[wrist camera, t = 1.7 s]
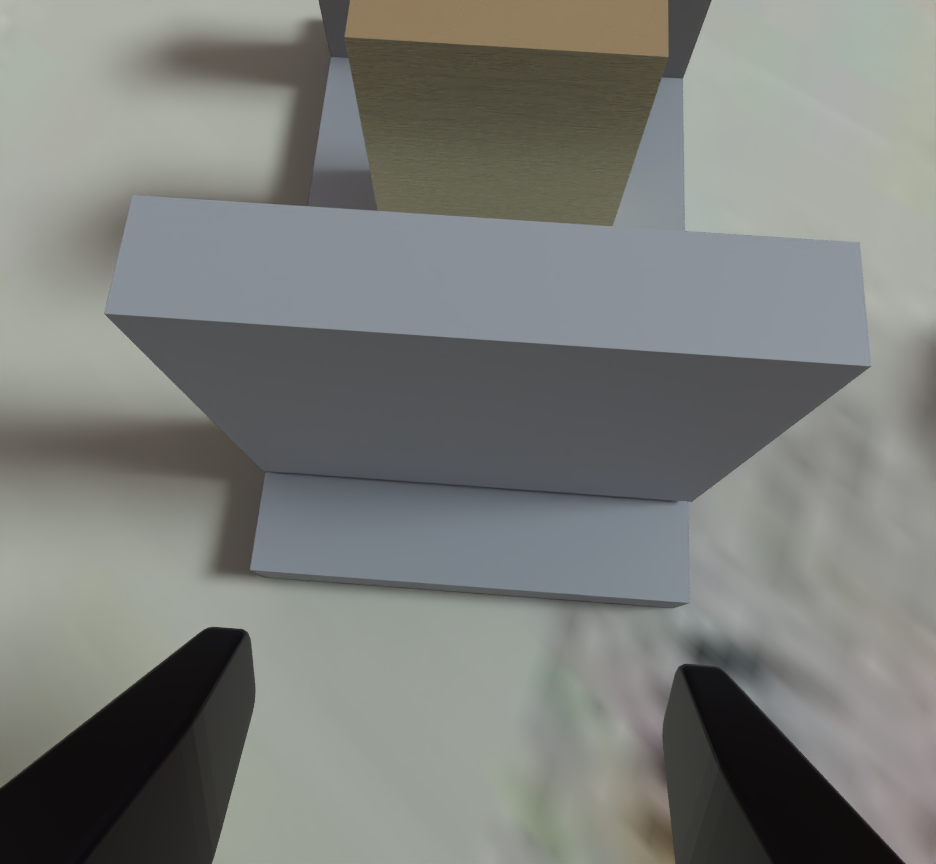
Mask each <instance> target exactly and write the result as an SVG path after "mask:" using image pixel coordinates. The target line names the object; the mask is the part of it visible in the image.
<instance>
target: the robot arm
mask: <svg viewBox="0 0 936 864" xmlns="http://www.w3.org/2000/svg"><path fill="white" fill-rule="evenodd" d="M254 703H255V678H254V668H253V658H252V648H251V640H250V637H249V634H248V633H247V632H246V631H245V630H243V629H235V628H222V627H209V628H207V629H204V630H203V631H201V632H200V633H199V634H197V635H196V636H195V637H193V638H192V639H191V640H190V641H188V642H187V643H186V644H185V645H183V646H182V647H181V648H179V649H178V650H177V651H176V652H174V653H173V654H172V655H170V656H169V657H168V658H167V659H165V660H164V661H163V662H161V663H160V664H159V665H158V666H156V667H155V668H154V669H152V670H151V671H150V672H149V673H147V674H146V675H145V676H143V677H142V678H141V679H140V680H138V681H137V682H136V683H135V684H133V685H132V686H131V687H129V688H128V689H127V690H126V691H124V692H123V693H122V694H120V695H119V696H118V697H117V698H115V699H114V700H113V701H111V702H110V703H109V704H108V705H106V706H105V707H104V708H102V709H101V710H100V711H99V712H97V713H96V714H95V715H93V716H92V717H91V718H90V719H88V720H87V721H86V722H84V723H83V724H82V725H81V726H79V727H78V728H77V729H76V730H74V731H73V732H72V733H70V734H69V735H68V736H67V737H65V738H64V739H63V740H61V741H60V742H59V743H58V744H56V745H55V746H54V747H52V748H51V749H50V750H49V751H47V752H46V753H45V754H43V755H42V756H41V757H40V758H38V759H37V760H36V761H34V762H33V763H32V764H31V765H29V766H28V767H27V768H26V769H24V770H23V771H22V772H20V773H19V774H18V775H17V776H15V777H14V778H13V779H11V780H10V781H9V782H8V783H6V784H5V785H4V786H2V787H1V788H0V864H212V861H213V859H214V855H215V852H216V848H217V845H218V841H219V837H220V834H221V830H222V826H223V823H224V819H225V815H226V811H227V808H228V804H229V800H230V796H231V792H232V789H233V785H234V781H235V777H236V773H237V770H238V766H239V762H240V758H241V755H242V751H243V747H244V743H245V739H246V736H247V732H248V728H249V724H250V720H251V717H252V713H253V708H254ZM662 737H663V752H664V761H665V770H666V780H667V789H668V798H669V808H670V817H671V827H672V836H673V845H674V855H675V864H905V863H904V862H903V861H902V860H901V859H900V857H899V856H898V855H897V854H896V853H895V852H894V851H893V850H892V849H891V848H890V847H889V846H888V845H887V844H886V843H885V841H884V840H883V839H882V838H881V837H880V836H879V835H878V834H877V833H876V832H875V831H874V830H873V829H872V828H871V827H870V825H869V824H868V823H867V822H866V821H865V820H864V819H863V818H862V817H861V816H860V815H859V814H858V813H857V812H856V811H855V809H854V808H853V807H852V806H851V805H850V804H849V803H848V802H847V801H846V800H845V799H844V798H843V797H842V796H841V795H840V794H839V792H838V791H837V790H836V789H835V788H834V787H833V786H832V785H831V784H830V783H829V782H828V781H827V780H826V779H825V778H824V776H823V775H822V774H821V773H820V772H819V771H818V770H817V769H816V768H815V767H814V766H813V765H812V764H811V763H810V762H809V760H808V759H807V758H806V757H805V756H804V755H803V754H802V753H801V752H800V751H799V750H798V749H797V748H796V747H795V746H794V744H793V743H792V742H791V741H790V740H789V739H788V738H787V737H786V736H785V735H784V734H783V733H782V732H781V731H780V730H779V728H778V727H777V726H776V725H775V724H774V723H773V722H772V721H771V720H770V719H769V718H768V717H767V716H766V715H765V714H764V712H763V711H762V710H761V709H760V708H759V707H758V706H757V705H756V704H755V703H754V702H753V701H752V700H751V699H750V698H749V696H748V695H747V694H746V693H745V692H744V691H743V690H742V689H741V688H740V687H739V686H738V685H737V684H736V683H735V682H734V680H733V679H732V678H731V677H730V676H729V675H728V674H727V673H726V672H725V671H724V670H722V669H721V668H719V667H716V666H707V665H695V664H683V665H681V666H679V667H678V669H677V671H676V673H675V676H674V680H673V684H672V688H671V692H670V696H669V700H668V704H667V709H666V713H665V717H664V722H663V734H662Z"/></svg>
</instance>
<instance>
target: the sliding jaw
mask: <svg viewBox="0 0 936 864" xmlns="http://www.w3.org/2000/svg"><path fill="white" fill-rule="evenodd" d="M104 314H105V315H106V316H107V317H108V318H109V319H110V320H111V321H112V322H113V323H114V324H115V325H116V326H117V327H118V328H119V329H120V330H121V331H122V332H123V333H124V334H125V335H126V336H127V337H128V338H129V339H130V340H131V341H132V342H133V343H134V344H135V345H136V346H137V347H138V348H139V349H140V350H141V351H142V352H143V353H144V354H145V355H146V356H147V357H148V358H149V359H150V360H151V361H152V362H153V363H154V364H155V365H156V366H157V367H158V368H159V369H160V370H161V371H162V372H163V373H164V374H165V375H166V376H167V377H168V378H169V379H170V380H171V381H172V382H173V383H174V384H175V385H176V386H177V387H178V388H179V389H180V390H181V391H182V392H183V393H185V394H186V395H187V396H188V397H189V398H190V399H191V400H192V401H193V402H194V403H195V404H196V405H197V406H198V407H199V408H200V409H201V410H202V411H203V412H204V413H205V414H206V415H207V416H208V417H209V418H210V419H211V420H212V421H213V422H214V423H215V424H216V425H217V426H218V427H219V428H220V429H221V430H222V431H223V432H224V433H225V434H226V435H227V436H228V437H229V438H230V439H231V440H232V441H233V442H234V443H235V444H236V445H237V446H238V447H239V448H240V449H241V450H242V451H243V452H244V453H245V454H246V455H247V456H248V457H249V458H250V459H251V460H252V461H253V462H254V463H255V464H256V465H257V466H258V467H259V468H260V469H261V470H262V471H274V472H288V473H302V474H315V475H329V476H343V477H357V478H371V479H384V480H398V481H412V482H426V483H440V484H453V485H467V486H481V487H495V488H509V489H523V490H536V491H550V492H564V493H578V494H592V495H605V496H619V497H633V498H647V499H661V500H674V501H688V502H692V501H693V500H695V499H696V498H697V497H699V496H700V495H701V494H703V493H704V492H705V491H707V490H708V489H709V488H711V487H712V486H713V485H715V484H716V483H717V482H719V481H720V480H721V479H723V478H724V477H725V476H727V475H728V474H729V473H730V472H732V471H733V470H734V469H736V468H737V467H738V466H740V465H741V464H742V463H744V462H745V461H746V460H748V459H749V458H750V457H752V456H753V455H754V454H756V453H757V452H758V451H760V450H761V449H762V448H764V447H765V446H766V445H768V444H769V443H770V442H771V441H773V440H774V439H775V438H777V437H778V436H779V435H781V434H782V433H783V432H785V431H786V430H787V429H789V428H790V427H791V426H793V425H794V424H795V423H797V422H798V421H799V420H801V419H802V418H803V417H805V416H806V415H807V414H809V413H810V412H811V411H812V410H814V409H815V408H816V407H818V406H819V405H820V404H822V403H823V402H824V401H826V400H827V399H828V398H830V397H831V396H832V395H834V394H835V393H836V392H838V391H839V390H840V389H842V388H843V387H844V386H846V385H847V384H848V383H850V382H851V381H852V380H853V379H855V378H856V377H857V376H859V375H860V374H861V373H863V372H864V371H865V370H867V369H868V368H869V367H871V361H870V350H869V339H868V329H867V318H866V307H865V296H864V285H863V274H862V263H861V252H860V243H859V242H843V241H828V240H813V239H798V238H783V237H767V236H752V235H737V234H722V233H706V232H691V231H676V230H661V229H645V228H630V227H615V226H600V225H585V224H569V223H554V222H539V221H524V220H508V219H493V218H478V217H463V216H447V215H432V214H417V213H402V212H386V211H371V210H356V209H341V208H326V207H310V206H295V205H280V204H265V203H249V202H234V201H219V200H204V199H188V198H173V197H158V196H143V195H132V199H131V203H130V207H129V211H128V215H127V220H126V224H125V228H124V232H123V236H122V241H121V245H120V249H119V253H118V257H117V262H116V266H115V270H114V274H113V278H112V282H111V287H110V291H109V295H108V299H107V303H106V308H105V312H104Z"/></svg>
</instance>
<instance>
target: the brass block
mask: <svg viewBox="0 0 936 864" xmlns="http://www.w3.org/2000/svg"><path fill="white" fill-rule="evenodd" d="M345 42H346V48H347V53H348V58H349V63H350V69H351V74H352V79H353V84H354V90H355V95H356V100H357V105H358V111H359V116H360V121H361V126H362V132H363V137H364V142H365V147H366V153H367V158H368V163H369V168H370V174H371V179H372V184H373V189H374V195H375V200H376V205H377V210H378V211H386V212H402V213H417V214H432V215H447V216H463V217H478V218H493V219H508V220H524V221H539V222H554V223H569V224H585V225H600V226H613V224H614V221H615V218H616V215H617V212H618V209H619V206H620V203H621V200H622V197H623V194H624V191H625V188H626V185H627V181H628V178H629V175H630V172H631V169H632V166H633V163H634V160H635V157H636V154H637V151H638V148H639V145H640V142H641V139H642V136H643V133H644V130H645V127H646V124H647V121H648V118H649V115H650V112H651V109H652V106H653V103H654V100H655V97H656V93H657V90H658V87H659V84H660V81H661V78H662V75H663V72H664V69H665V66H666V63H667V60H668V57H669V52H668V0H350V4H349V11H348V17H347V24H346V31H345Z"/></svg>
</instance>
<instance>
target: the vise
mask: <svg viewBox="0 0 936 864" xmlns="http://www.w3.org/2000/svg"><path fill="white" fill-rule="evenodd" d="M710 3H711V0H668V52H669V57H668V60H667V63H666V66H665V69H664V72H663V75H662V78H661V81H660V84H659V87H658V90H657V93H656V97H655V100H654V103H653V106H652V109H651V112H650V115H649V118H648V121H647V124H646V127H645V130H644V133H643V136H642V139H641V142H640V145H639V148H638V151H637V154H636V157H635V160H634V163H633V166H632V169H631V172H630V175H629V178H628V181H627V185H626V188H625V191H624V194H623V197H622V200H621V203H620V206H619V209H618V212H617V215H616V218H615V221H614V224H613V226H615V227H630V228H645V229H661V230H676V231H685V205H684V131H683V77H684V74H685V71H686V69H687V66H688V63H689V60H690V58H691V55H692V52H693V49H694V47H695V44H696V41H697V38H698V36H699V33H700V30H701V28H702V25H703V22H704V19H705V17H706V14H707V11H708V8H709V6H710ZM349 4H350V0H319V5H320V9H321V14H322V18H323V23H324V27H325V32H326V37H327V41H328V46H329V50H330V55H331V60H330V66H329V72H328V79H327V85H326V91H325V98H324V104H323V110H322V117H321V123H320V129H319V136H318V142H317V148H316V155H315V161H314V167H313V174H312V180H311V186H310V193H309V199H308V205H307V206H310V207H326V208H341V209H356V210H371V211H378V210H377V205H376V200H375V195H374V189H373V184H372V179H371V174H370V168H369V163H368V158H367V153H366V147H365V142H364V137H363V132H362V126H361V121H360V116H359V111H358V105H357V100H356V95H355V90H354V84H353V79H352V74H351V69H350V63H349V58H348V53H347V48H346V42H345V31H346V24H347V17H348V11H349ZM250 570H251V571H253V572H255V573H257V574H259V575H261V576H263V577H270V578H283V579H296V580H309V581H323V582H336V583H349V584H363V585H376V586H389V587H403V588H416V589H429V590H443V591H456V592H469V593H483V594H496V595H509V596H522V597H536V598H549V599H562V600H576V601H589V602H602V603H616V604H629V605H642V606H656V607H669V608H675V607H679V606H682V605H685V604H688V603H690V580H689V505H688V501H674V500H661V499H647V498H633V497H619V496H605V495H592V494H578V493H564V492H550V491H536V490H523V489H509V488H495V487H481V486H467V485H453V484H440V483H426V482H412V481H398V480H384V479H371V478H357V477H343V476H329V475H315V474H302V473H288V472H274V471H265V477H264V484H263V490H262V496H261V503H260V509H259V515H258V522H257V528H256V534H255V541H254V547H253V553H252V560H251V566H250Z"/></svg>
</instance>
